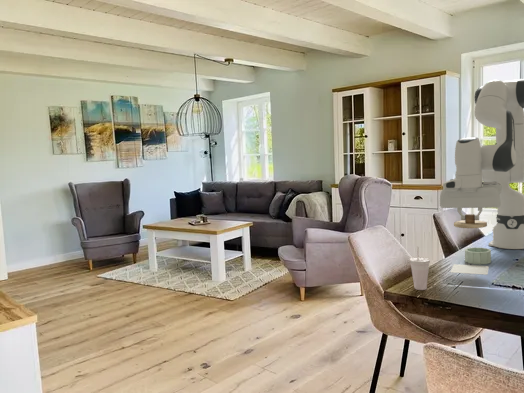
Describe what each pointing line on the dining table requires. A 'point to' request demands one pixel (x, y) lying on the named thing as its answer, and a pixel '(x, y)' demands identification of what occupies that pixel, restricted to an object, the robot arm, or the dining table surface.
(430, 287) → the dining table surface
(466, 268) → the mat
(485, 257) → the bowl
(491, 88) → the robot arm
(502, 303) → the dining table surface
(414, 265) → the smoothie
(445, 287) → the dining table surface
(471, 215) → the lid
